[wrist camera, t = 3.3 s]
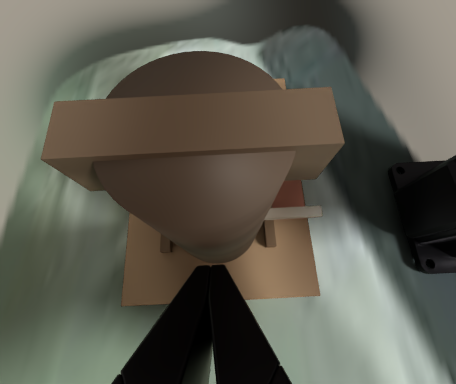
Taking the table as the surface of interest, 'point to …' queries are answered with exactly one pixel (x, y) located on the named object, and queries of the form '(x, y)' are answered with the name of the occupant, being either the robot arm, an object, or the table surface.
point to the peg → (198, 148)
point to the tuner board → (239, 268)
